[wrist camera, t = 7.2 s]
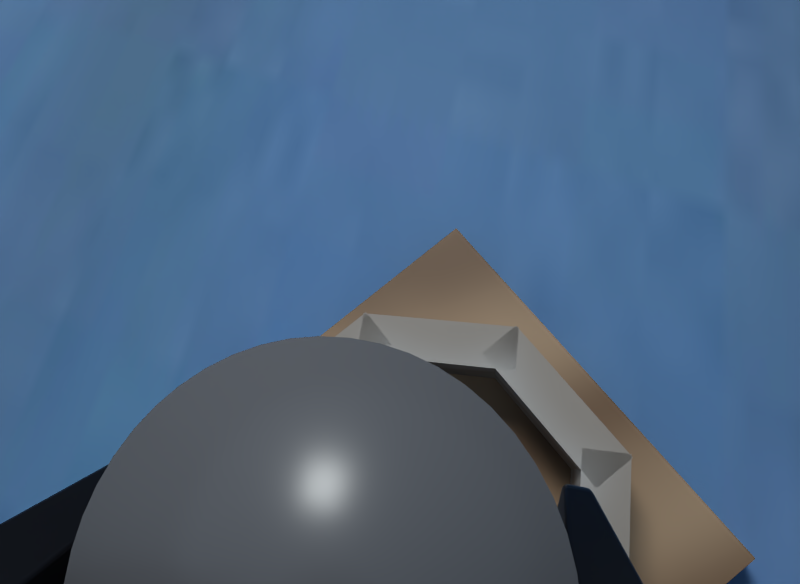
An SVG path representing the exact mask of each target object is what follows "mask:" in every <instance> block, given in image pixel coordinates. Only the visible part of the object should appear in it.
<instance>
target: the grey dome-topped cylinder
mask: <svg viewBox="0 0 800 584" xmlns="http://www.w3.org/2000/svg"><path fill="white" fill-rule="evenodd" d="M64 584H579V583H578V575H577V570H576V566H575V562H574V558H573V554H572V550H571V546H570V542H569V538H568V534H567V531H566V529H565V526H564V523H563V521H562V518H561V516H560V513H559V510H558V508H557V505H556V502H555V500H554V497H553V495H552V493H551V492H550V490H549V488H548V486H547V484H546V482H545V480H544V478H543V476H542V474H541V472H540V471H539V469H538V467H537V465H536V463H535V462H534V460H533V459H532V457H531V456H530V454H529V453H528V452H527V450H526V449H525V447H524V446H523V444H522V443H521V442H520V440H519V439H518V437H517V436H516V434H515V433H514V432H513V431H512V430H511V429H510V427H509V426H508V425H507V424H506V423H505V422H504V421H503V420H502V419H501V417H500V416H499V415H498V414H497V413H496V412H495V411H494V410H493V409H492V407H490V406H489V405H488V404H487V403H486V402H485V401H483V400H482V399H481V398H480V397H479V396H478V395H477V394H475V393H474V392H473V391H472V390H471V389H470V388H468V387H467V386H466V385H465V384H463V383H462V382H460V381H459V380H457V379H456V378H454V377H453V376H451V375H450V374H448V373H447V372H445V371H444V370H442V369H440V368H439V367H437V366H435V365H433V364H431V363H429V362H427V361H425V360H423V359H421V358H419V357H417V356H414V355H412V354H410V353H408V352H405V351H402V350H399V349H396V348H393V347H390V346H386V345H383V344H380V343H375V342H370V341H365V340H359V339H354V338H345V337H326V336H316V337H304V338H291V339H286V340H281V341H277V342H272V343H267V344H263V345H259V346H256V347H253V348H251V349H248V350H245V351H242V352H239V353H236V354H234V355H231V356H229V357H227V358H225V359H223V360H221V361H219V362H217V363H215V364H213V365H211V366H209V367H207V368H205V369H204V370H202V371H201V372H199V373H198V374H196V375H195V376H193V377H192V378H190V379H189V380H187V381H186V382H184V383H183V384H181V385H180V386H178V387H177V388H176V389H175V390H174V391H173V392H171V393H170V394H169V395H168V396H167V397H165V398H164V399H163V400H162V401H161V402H160V403H158V404H157V405H156V406H155V407H154V408H153V409H152V410H151V411H150V412H149V413H148V414H147V416H146V417H145V418H144V419H143V420H142V421H141V422H140V423H139V424H138V425H137V426H136V427H135V428H134V429H133V431H132V432H131V433H130V435H129V436H128V437H127V439H126V440H125V441H124V443H123V444H122V446H121V447H120V448H119V450H118V451H117V452H116V454H115V455H114V456H113V458H112V460H111V461H110V463H109V465H108V467H107V468H106V470H105V472H104V473H103V475H102V477H101V478H100V480H99V482H98V483H97V485H96V487H95V490H94V492H93V494H92V496H91V499H90V501H89V503H88V505H87V507H86V510H85V512H84V514H83V516H82V519H81V522H80V525H79V528H78V531H77V534H76V537H75V540H74V543H73V546H72V549H71V553H70V558H69V563H68V567H67V572H66V576H65V581H64Z"/></svg>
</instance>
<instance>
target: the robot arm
mask: <svg viewBox="0 0 800 584" xmlns="http://www.w3.org/2000/svg"><path fill="white" fill-rule="evenodd" d="M108 465H109V464H108ZM108 465H107V466H105V467H103V468H101V469H99V470H98V471H96V472H94V473H92V474H90V475H88V476H87V477H85V478H83V479H81V480H79V481H78V482H76V483H74V484H72V485H70V486H69V487H67V488H65V489H63V490H61V491H59V492H58V493H56V494H54V495H52V496H50V497H49V498H47V499H45V500H43V501H41V502H40V503H38V504H36V505H34V506H32V507H30V508H29V509H27V510H25V511H23V512H21V513H20V514H18V515H16V516H14V517H12V518H11V519H9V520H7V521H5V522H3V523H1V524H0V584H64V581H65V576H66V572H67V567H68V563H69V558H70V553H71V549H72V546H73V543H74V540H75V537H76V534H77V531H78V528H79V525H80V522H81V519H82V516H83V514H84V512H85V510H86V507H87V505H88V503H89V501H90V499H91V496H92V494H93V492H94V490H95V487H96V485H97V483H98V482H99V480H100V478H101V477H102V475H103V473H104V472H105V470H106V468H107V467H108ZM557 508H558V510H559V513H560V516H561V518H562V521H563V523H564V526H565V529H566V531H567V534H568V538H569V542H570V546H571V550H572V554H573V558H574V562H575V566H576V570H577V575H578V583H579V584H643V583H642V581H641V579H640V577H639V575H638V573H637V572H636V570H635V568H634V566H633V564H632V563H631V561H630V559H629V557H628V555H627V553H626V552H625V550H624V548H623V546H622V544H621V543H620V541H619V539H618V537H617V535H616V533H615V532H614V530H613V528H612V526H611V524H610V522H609V521H608V519H607V517H606V515H605V513H604V512H603V510H602V508H601V506H600V504H599V502H598V501H597V499H596V497H595V495H594V493H593V492H592V491H591V490H590V489H589V488H586V487H581V486H576V485H571V484H565V485H564V486H563V487H562V490H561V494H560V499H559V503H558V507H557Z"/></svg>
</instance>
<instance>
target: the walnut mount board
mask: <svg viewBox="0 0 800 584" xmlns="http://www.w3.org/2000/svg"><path fill="white" fill-rule="evenodd" d="M321 336H326V337H345V338H354V339H359V340H365V341H370V342H375V343H380V344H383V345H386V346H390V347H393V348H396V349H399V350H402V351H405V352H408V353H410V354H412V355H414V356H417V357H419V358H421V359H423V360H425V361H427V362H429V363H431V364H433V365H435V366H437V367H439V368H440V369H442V370H444V371H445V372H447V373H448V374H450V375H451V376H453V377H454V378H456V379H457V380H459V381H460V382H462V383H463V384H465V385H466V386H467V387H468V388H470V389H471V390H472V391H473V392H474V393H475V394H477V395H478V396H479V397H480V398H481V399H482V400H483V401H485V402H486V403H487V404H488V405H489V406H490V407H492V409H493V410H494V411H495V412H496V413H497V414H498V415H499V416H500V417H501V419H502V420H503V421H504V422H505V423H506V424H507V425H508V426H509V427H510V429H511V430H512V431H513V432H514V433H515V434H516V436H517V437H518V439H519V440H520V442H521V443H522V444H523V446H524V447H525V449H526V450H527V452H528V453H529V454H530V456H531V457H532V459H533V460H534V462H535V463H536V465H537V467H538V469H539V471H540V472H541V474H542V476H543V478H544V480H545V482H546V484H547V486H548V488H549V490H550V492H551V493H552V495H553V497H554V500H555V502H556V505H557V507H558V503H559V499H560V494H561V490H562V487H563V486H564V485H565V484H571V485H576V486H581V487H586V488H589V489H590V490H591V491H592V492H593V493H594V495H595V497H596V499H597V501H598V502H599V504H600V506H601V508H602V510H603V512H604V513H605V515H606V517H607V519H608V521H609V522H610V524H611V526H612V528H613V530H614V532H615V533H616V535H617V537H618V539H619V541H620V543H621V544H622V546H623V548H624V550H625V552H626V553H627V555H628V557H629V559H630V561H631V563H632V564H633V566H634V568H635V570H636V572H637V573H638V575H639V577H640V579H641V581H642V583H643V584H726V583H728V582H729V581H730V580H731V579H732V578H733V577H735V576H736V575H737V574H738V573H739V572H740V571H742V570H743V569H744V568H745V567H746V566H747V565H749V564H750V563H751V562H752V561H753V560H754V559H755V558H754V557H753V556H752V554H751V553H750V552H749V551H748V550H747V549H746V548H745V547H744V546H743V544H742V543H741V542H740V541H739V540H738V539H737V538H736V537H735V536H734V535H733V533H732V532H731V531H730V530H729V529H728V528H727V527H726V526H725V525H724V523H723V522H722V521H721V520H720V519H719V518H718V517H717V516H716V515H715V514H714V512H713V511H712V510H711V509H710V508H709V507H708V506H707V505H706V504H705V503H704V501H703V500H702V499H701V498H700V497H699V496H698V495H697V494H696V493H695V491H694V490H693V489H692V488H691V487H690V486H689V485H688V484H687V483H686V482H685V480H684V479H683V478H682V477H681V476H680V475H679V474H678V473H677V472H676V471H675V469H674V468H673V467H672V466H671V465H670V464H669V463H668V462H667V461H666V459H665V458H664V457H663V456H662V455H661V454H660V453H659V452H658V451H657V450H656V448H655V447H654V446H653V445H652V444H651V443H650V442H649V441H648V440H647V439H646V437H645V436H644V435H643V434H642V433H641V432H640V431H639V430H638V429H637V427H636V426H635V425H634V424H633V423H632V422H631V421H630V420H629V419H628V418H627V416H626V415H625V414H624V413H623V412H622V411H621V410H620V409H619V408H618V407H617V405H616V404H615V403H614V402H613V401H612V400H611V399H610V398H609V397H608V395H607V394H606V393H605V392H604V391H603V390H602V389H601V388H600V387H599V386H598V384H597V383H596V382H595V381H594V380H593V379H592V378H591V377H590V376H589V374H588V373H587V372H586V371H585V370H584V369H583V368H582V367H581V366H580V365H579V363H578V362H577V361H576V360H575V359H574V358H573V357H572V356H571V355H570V354H569V352H568V351H567V350H566V349H565V348H564V347H563V346H562V345H561V344H560V342H559V341H558V340H557V339H556V338H555V337H554V336H553V335H552V334H551V333H550V331H549V330H548V329H547V328H546V327H545V326H544V325H543V324H542V323H541V322H540V320H539V319H538V318H537V317H536V316H535V315H534V314H533V313H532V312H531V310H530V309H529V308H528V307H527V306H526V305H525V304H524V303H523V302H522V301H521V299H520V298H519V297H518V296H517V295H516V294H515V293H514V292H513V291H512V290H511V288H510V287H509V286H508V285H507V284H506V283H505V282H504V281H503V280H502V278H501V277H500V276H499V275H498V274H497V273H496V272H495V271H494V270H493V269H492V267H491V266H490V265H489V264H488V263H487V262H486V261H485V260H484V259H483V257H482V256H481V255H480V254H479V253H478V252H477V251H476V250H475V249H474V248H473V246H472V245H471V244H470V243H469V242H468V241H467V240H466V239H465V238H464V237H463V235H462V234H461V233H460V232H459V231H458V230H457V229H455V230H454V231H452V232H451V233H450V234H449V235H447V236H446V237H445V238H444V239H442V240H441V241H440V242H438V243H437V244H436V245H435V246H433V247H432V248H431V249H430V250H428V251H427V252H426V253H425V254H423V255H422V256H421V257H420V258H418V259H417V260H416V261H414V262H413V263H412V264H411V265H409V266H408V267H407V268H406V269H404V270H403V271H402V272H401V273H399V274H398V275H397V276H396V277H394V278H393V279H392V280H391V281H389V282H388V283H387V284H385V285H384V286H383V287H382V288H380V289H379V290H378V291H377V292H375V293H374V294H373V295H372V296H370V297H369V298H368V299H367V300H365V301H364V302H363V303H361V304H360V305H359V306H358V307H356V308H355V309H354V310H353V311H351V312H350V313H349V314H348V315H346V316H345V317H344V318H343V319H341V320H340V321H339V322H337V323H336V324H335V325H334V326H332V327H331V328H330V329H329V330H327V331H326V332H325V333H324V334H322V335H321Z"/></svg>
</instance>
